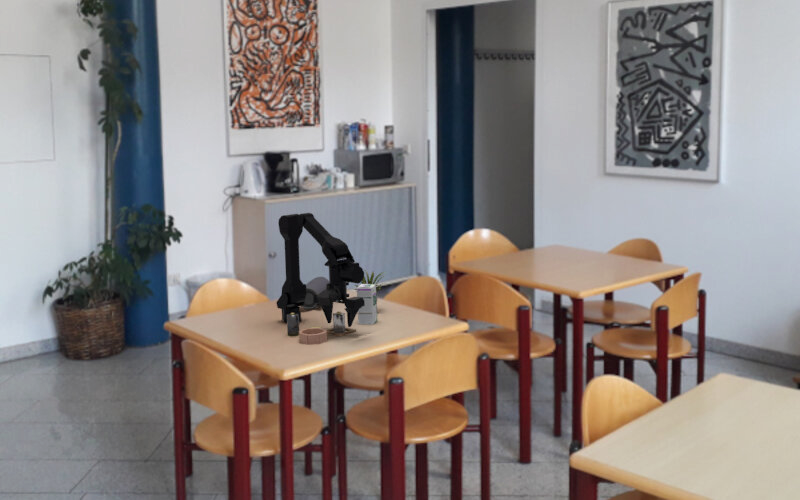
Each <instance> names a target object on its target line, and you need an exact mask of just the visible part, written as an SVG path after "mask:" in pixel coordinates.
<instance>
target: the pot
mask: <svg viewBox="0 0 800 500" xmlns="http://www.w3.org/2000/svg"><path fill="white" fill-rule="evenodd" d="M326 330H327V328H323V329H322V328H310V327H307V328H304V329H299V336H298V338H299V340H298V343H300V344H305V345H318V344H322V343H326V342H328V334H327V331H326Z"/></svg>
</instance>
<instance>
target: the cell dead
mask: <svg viewBox="0 0 800 500" xmlns="http://www.w3.org/2000/svg"><path fill="white" fill-rule="evenodd" d="M286 326H287V327H286V328H287V334H288V336H297V337H299V331H300V322H299V314H296V313H291V314H287V323H286ZM288 336H287V337H288Z"/></svg>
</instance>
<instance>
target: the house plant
mask: <svg viewBox="0 0 800 500" xmlns="http://www.w3.org/2000/svg"><path fill="white" fill-rule="evenodd" d="M364 273H365V274H366V276H364V278H363V280H362V282H360V283H359V284H360V285H361V284H375V285H376V293H377V292H378V293H379V290H381V288H382V287H383V286H382V285H385V284H386V283H385V282H384V283H381V284H378V283H379V281H380V280H382V278H384V277H386V276H385V275H382V274H384V273H386V271H383V272H380V273H378V275H376V276H375V272H374V271H372V272H371V275H370V276H369V273H368V272H367V270H364ZM374 277H375V278H374ZM379 277H380V278H379ZM378 278H379V279H378ZM366 279H367V280H366ZM354 286H356V288H353V290H355V291H357V287H358V286H359V285H358V284H354ZM378 289H379V290H378ZM378 299H379V295H378V294H376V300H377V301H378Z"/></svg>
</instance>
